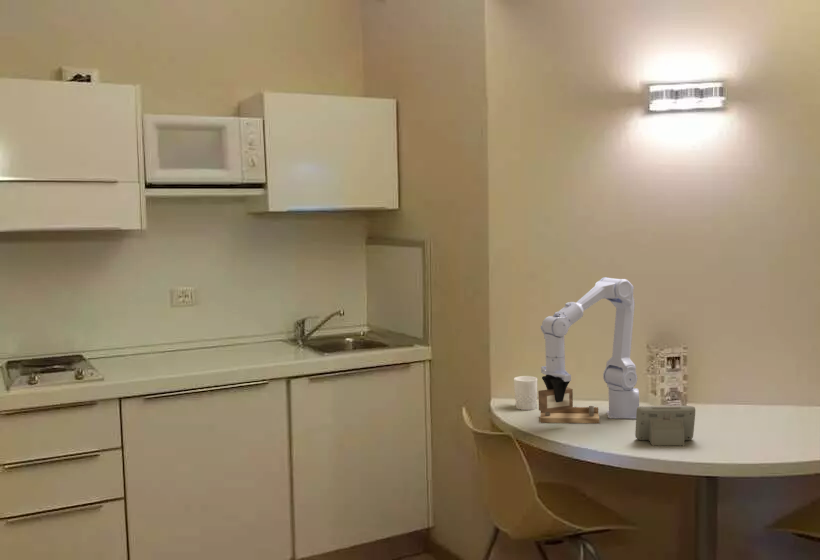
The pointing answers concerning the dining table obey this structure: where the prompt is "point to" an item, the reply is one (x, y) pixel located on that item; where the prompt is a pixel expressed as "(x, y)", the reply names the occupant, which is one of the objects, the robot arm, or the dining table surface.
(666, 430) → the digital clock
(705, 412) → the dining table surface
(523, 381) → the white cup
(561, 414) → the wooden stand base
